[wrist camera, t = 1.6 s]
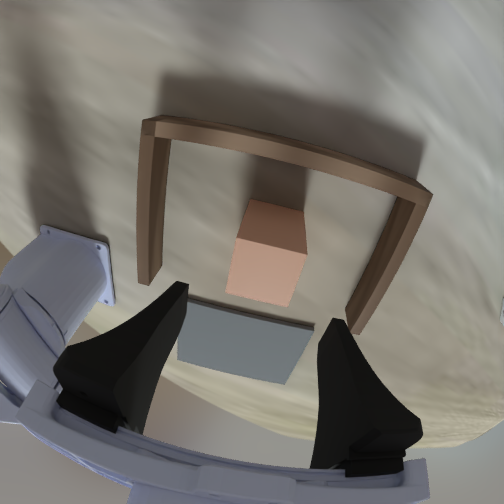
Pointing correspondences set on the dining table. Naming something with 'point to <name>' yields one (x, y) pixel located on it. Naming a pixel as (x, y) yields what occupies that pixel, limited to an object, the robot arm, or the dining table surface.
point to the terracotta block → (268, 253)
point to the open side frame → (288, 150)
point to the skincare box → (502, 313)
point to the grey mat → (241, 342)
